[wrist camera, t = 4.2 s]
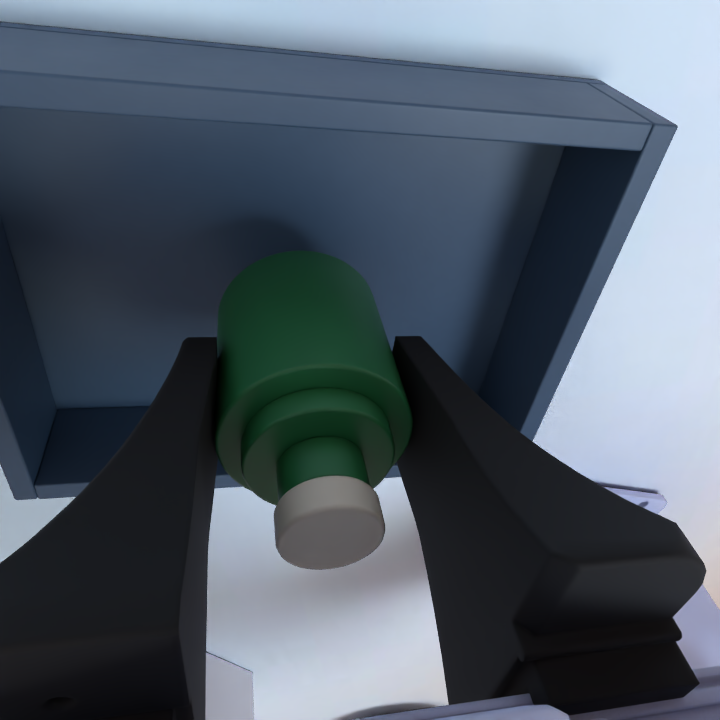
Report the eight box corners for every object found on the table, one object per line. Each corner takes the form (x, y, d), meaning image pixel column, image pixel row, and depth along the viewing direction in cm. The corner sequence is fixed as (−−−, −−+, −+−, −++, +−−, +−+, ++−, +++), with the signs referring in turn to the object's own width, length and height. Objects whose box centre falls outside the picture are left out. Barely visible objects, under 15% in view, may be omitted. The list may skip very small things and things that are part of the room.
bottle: (399, 272, 14) (486, 480, 10) (342, 388, 17) (389, 604, 12) (241, 229, 13) (248, 448, 8) (202, 362, 15) (188, 597, 10)
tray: (601, 80, 15) (679, 125, 12) (485, 399, 22) (519, 470, 19) (-82, 13, 11) (-171, 56, 9) (43, 413, 18) (14, 501, 16)
